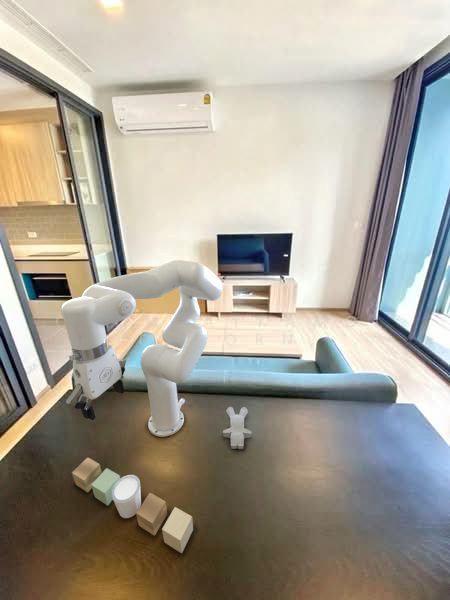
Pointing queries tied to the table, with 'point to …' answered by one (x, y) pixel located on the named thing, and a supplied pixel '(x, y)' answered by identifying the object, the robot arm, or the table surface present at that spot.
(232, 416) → the bunny figurine
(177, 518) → the block
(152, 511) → the block
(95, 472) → the block
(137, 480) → the white cylinder
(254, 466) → the table surface
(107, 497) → the block
